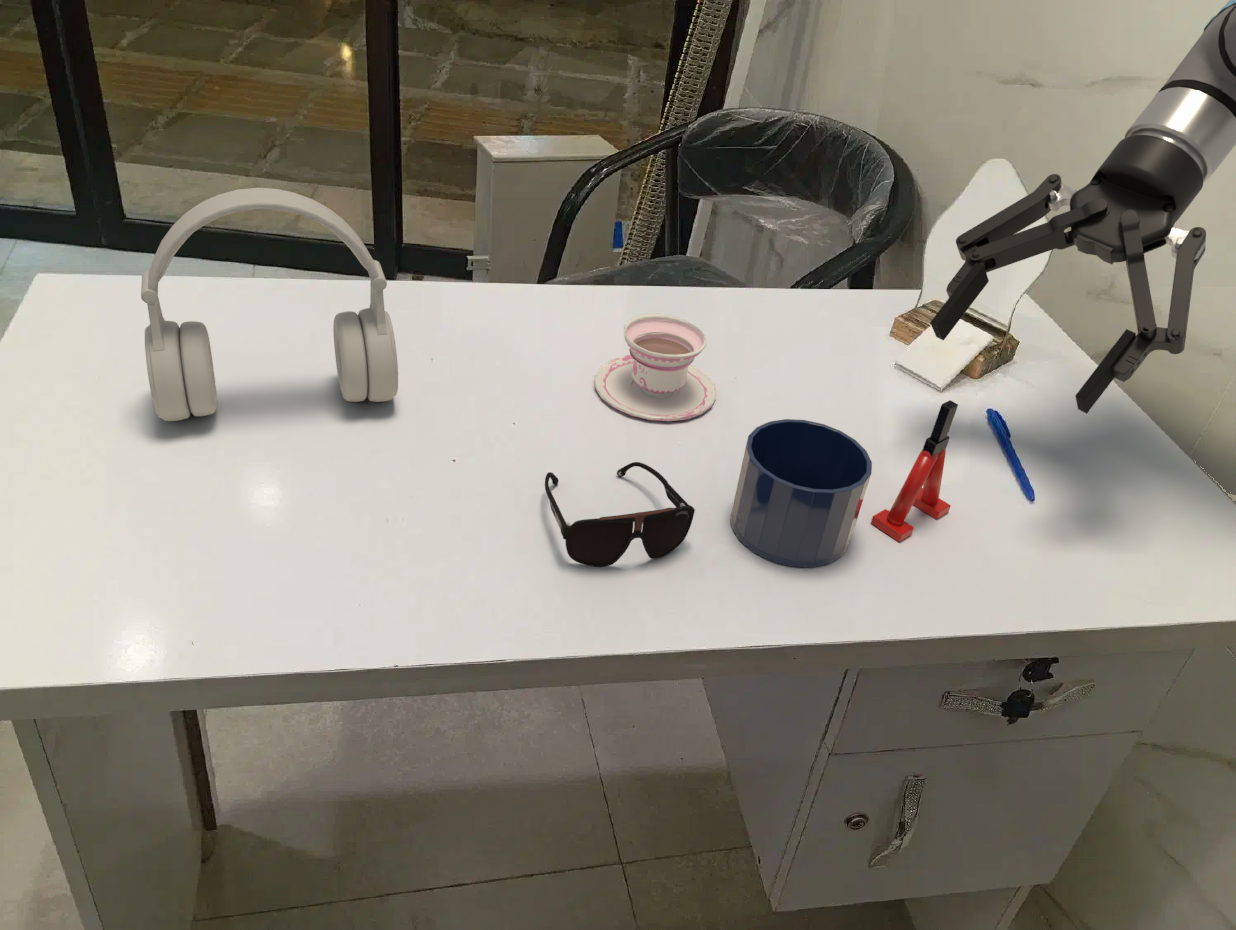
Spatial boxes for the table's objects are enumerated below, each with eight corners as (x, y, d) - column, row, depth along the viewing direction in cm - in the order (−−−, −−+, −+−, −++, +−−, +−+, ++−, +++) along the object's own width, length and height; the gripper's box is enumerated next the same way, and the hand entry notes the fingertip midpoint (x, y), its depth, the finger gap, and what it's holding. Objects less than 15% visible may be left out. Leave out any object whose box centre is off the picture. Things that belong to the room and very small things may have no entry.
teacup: (739, 410, 96) (750, 354, 92) (631, 434, 91) (639, 375, 87) (675, 351, 104) (683, 298, 101) (573, 369, 99) (578, 314, 95)
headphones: (386, 370, 95) (379, 173, 84) (401, 418, 89) (396, 212, 78) (159, 389, 89) (118, 178, 77) (158, 442, 82) (113, 221, 71)
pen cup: (872, 538, 82) (897, 465, 78) (795, 584, 76) (817, 508, 72) (784, 478, 88) (802, 406, 83) (706, 517, 82) (721, 442, 78)
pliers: (948, 512, 86) (991, 400, 79) (899, 542, 82) (940, 426, 75) (919, 494, 88) (959, 383, 81) (870, 523, 84) (907, 408, 77)
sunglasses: (568, 581, 74) (571, 524, 71) (526, 500, 83) (527, 448, 81) (698, 560, 77) (705, 505, 75) (643, 485, 87) (647, 435, 84)
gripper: (1317, 241, 78) (1151, 457, 78) (1033, 142, 92) (893, 324, 92) (1329, 186, 72) (1149, 420, 72) (1023, 89, 86) (873, 284, 86)
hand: (1005, 367), depth 82 cm, fingers open, 13 cm apart
